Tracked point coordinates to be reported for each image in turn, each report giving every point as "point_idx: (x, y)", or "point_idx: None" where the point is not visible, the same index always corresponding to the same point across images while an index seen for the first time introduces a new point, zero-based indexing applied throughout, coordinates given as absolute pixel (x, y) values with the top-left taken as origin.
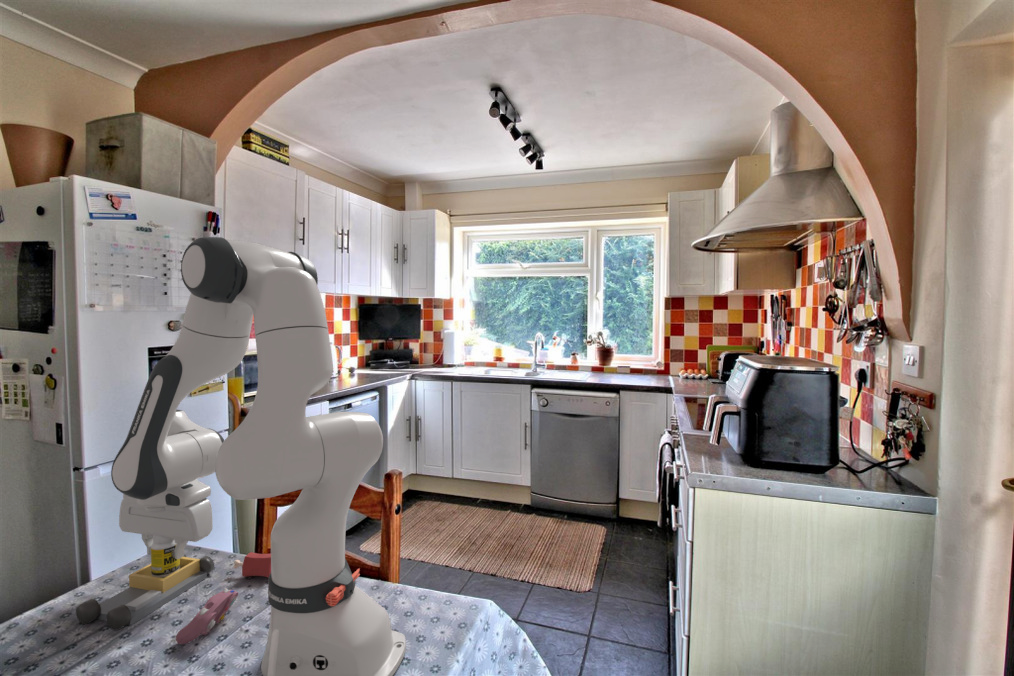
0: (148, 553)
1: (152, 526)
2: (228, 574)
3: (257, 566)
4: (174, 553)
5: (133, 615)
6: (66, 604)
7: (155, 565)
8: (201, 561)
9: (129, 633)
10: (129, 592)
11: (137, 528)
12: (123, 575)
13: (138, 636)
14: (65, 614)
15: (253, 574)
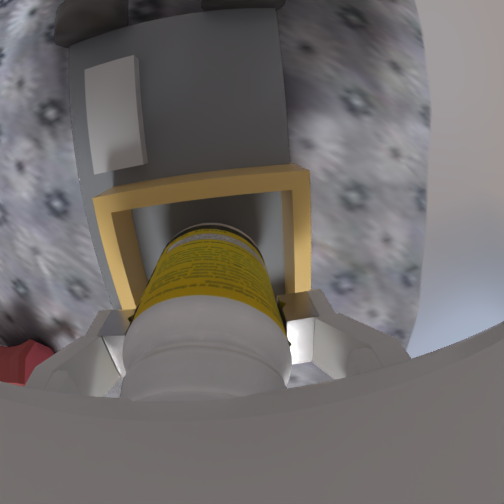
0: (311, 291)
1: (258, 489)
2: None
3: (1, 362)
4: (103, 326)
5: (77, 59)
6: (411, 65)
7: (192, 244)
8: None
9: (53, 38)
10: (248, 133)
11: (460, 382)
12: (409, 235)
13: (24, 50)
14: (358, 20)
15: (15, 346)
